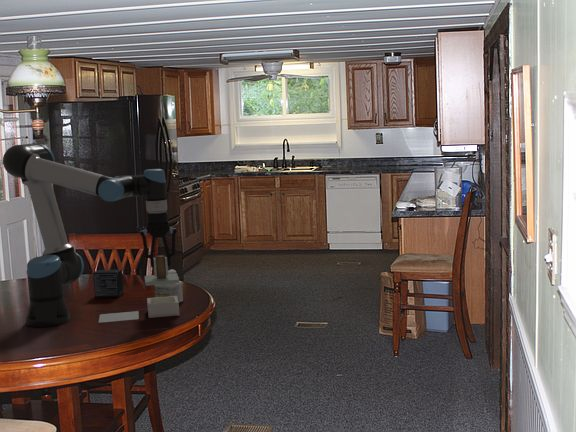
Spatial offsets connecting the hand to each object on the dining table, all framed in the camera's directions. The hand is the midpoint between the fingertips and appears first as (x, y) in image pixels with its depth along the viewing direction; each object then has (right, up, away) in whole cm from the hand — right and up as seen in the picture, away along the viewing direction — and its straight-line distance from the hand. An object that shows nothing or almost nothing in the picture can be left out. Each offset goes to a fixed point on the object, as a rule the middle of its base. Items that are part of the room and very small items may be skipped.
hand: (161, 275), depth 283 cm
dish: (0, -14, +2) cm, 14 cm away
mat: (-15, -15, -1) cm, 22 cm away
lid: (0, -2, 0) cm, 2 cm away
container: (0, -12, +18) cm, 22 cm away
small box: (-27, -11, +35) cm, 46 cm away
